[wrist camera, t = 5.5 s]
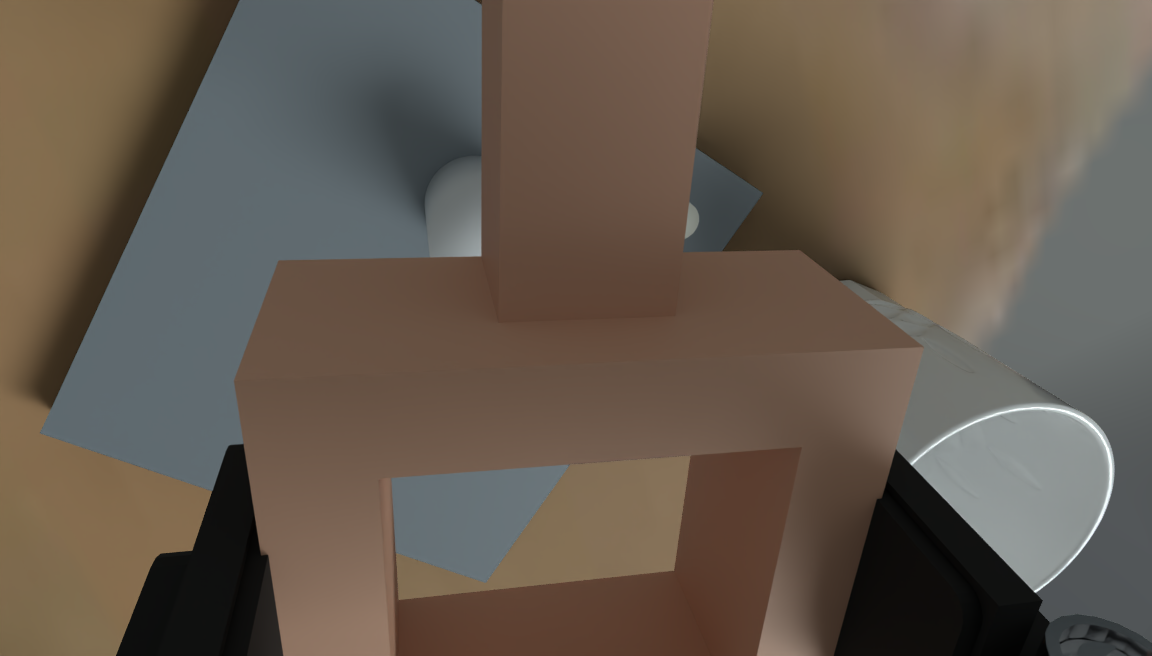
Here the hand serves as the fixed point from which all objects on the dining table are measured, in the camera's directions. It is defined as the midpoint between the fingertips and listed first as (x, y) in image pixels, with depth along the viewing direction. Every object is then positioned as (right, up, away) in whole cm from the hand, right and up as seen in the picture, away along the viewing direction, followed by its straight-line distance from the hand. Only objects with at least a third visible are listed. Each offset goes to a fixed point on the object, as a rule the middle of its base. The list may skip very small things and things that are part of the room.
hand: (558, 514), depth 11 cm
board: (-5, +4, +15) cm, 16 cm away
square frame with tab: (0, +2, 0) cm, 2 cm away
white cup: (+10, +2, +20) cm, 22 cm away
